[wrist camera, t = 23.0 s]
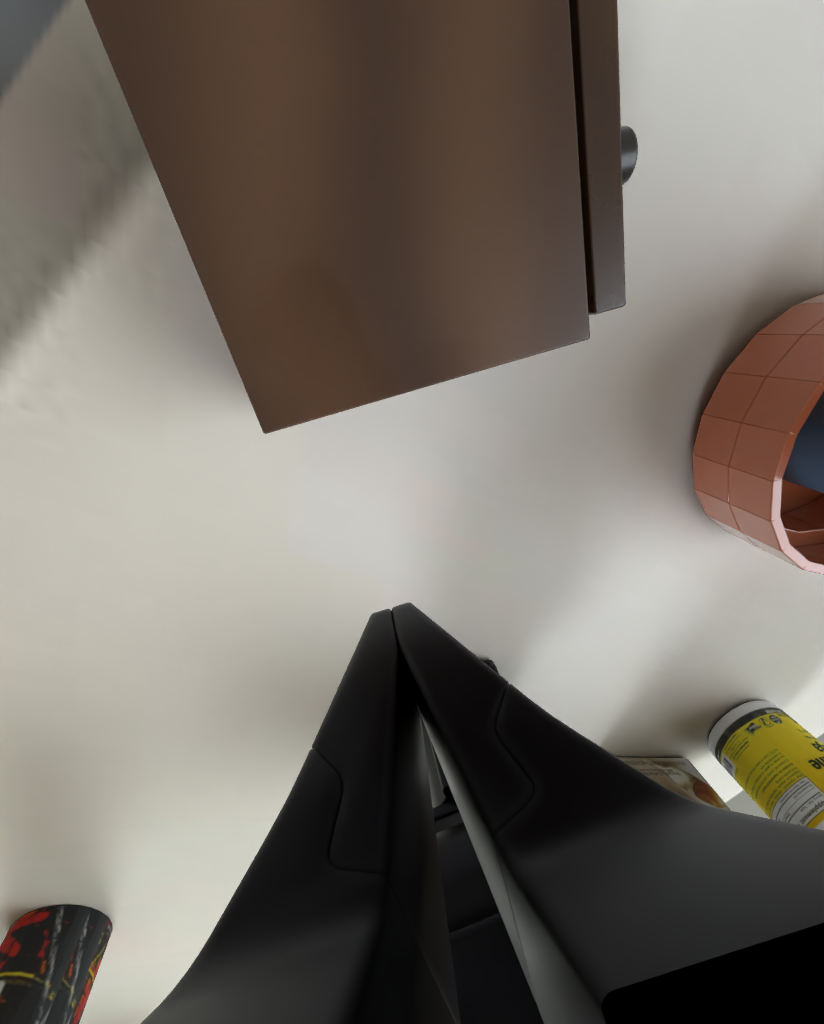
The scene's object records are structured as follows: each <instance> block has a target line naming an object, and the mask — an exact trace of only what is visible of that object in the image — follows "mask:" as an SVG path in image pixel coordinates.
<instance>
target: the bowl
mask: <svg viewBox="0 0 824 1024" xmlns="http://www.w3.org/2000/svg"><path fill="white" fill-rule="evenodd" d="M823 392H824V294H821V295H819V296H816V297H814V298H811V299H809V300H806V301H803V302H801V303H798V304H796V305H794V306H792V307H791V308H789V309H788V310H787V311H786V312H784V313H783V314H782V315H780V316H779V317H778V318H776V319H775V320H774V321H772V322H771V323H770V324H768V325H767V326H766V327H764V328H763V329H762V330H760V331H759V332H758V333H757V334H756V335H755V336H754V337H753V338H752V340H751V341H750V342H749V343H748V344H747V346H746V347H745V348H744V349H743V350H742V352H741V353H740V354H739V355H738V356H737V358H736V359H735V360H734V361H733V362H732V364H731V365H730V366H729V367H728V368H727V370H726V371H725V373H724V374H723V376H722V378H721V379H720V381H719V383H718V385H717V387H716V389H715V391H714V393H713V395H712V397H711V399H710V401H709V403H708V404H707V406H706V408H705V410H704V412H703V414H702V417H701V421H700V425H699V429H698V433H697V438H696V442H695V446H694V450H693V473H694V489H695V492H696V494H697V496H698V498H699V500H700V503H701V505H702V507H703V509H704V511H705V514H706V515H707V516H708V517H709V518H710V519H712V520H713V521H714V522H715V523H717V524H718V525H719V526H720V527H721V528H723V529H724V530H725V531H727V532H729V533H731V534H733V535H735V536H737V537H739V538H741V539H743V540H744V541H746V542H748V543H750V544H752V545H754V546H756V547H758V548H761V549H762V550H764V551H766V552H768V553H770V554H772V555H774V556H776V557H778V558H780V559H782V560H784V561H786V562H788V563H790V564H792V565H794V566H796V567H798V568H800V569H802V570H806V571H811V572H815V573H819V574H824V493H821V492H818V491H815V490H812V489H809V488H806V487H803V486H800V485H797V484H794V483H791V482H788V481H785V480H782V478H783V476H784V473H785V470H786V467H787V464H788V461H789V458H790V455H791V452H792V449H793V446H794V444H795V441H796V438H797V435H798V433H799V431H800V430H801V428H802V426H803V425H804V423H805V421H806V420H807V418H808V416H809V415H810V413H811V411H812V410H813V408H814V407H815V405H816V403H817V402H818V400H819V398H820V397H821V395H822V393H823Z"/></svg>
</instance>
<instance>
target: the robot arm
mask: <svg viewBox="0 0 824 1024" xmlns="http://www.w3.org/2000/svg"><path fill="white" fill-rule="evenodd" d="M312 748H313V749H311V750H310V751H309V754H308V756H307V758H306V760H305V763H304V765H303V767H302V769H301V771H300V773H299V775H298V777H297V780H296V782H295V784H294V786H293V788H292V790H291V792H290V794H289V796H288V798H287V800H286V802H285V804H284V806H283V808H282V810H281V811H280V813H279V815H278V817H277V819H276V821H275V822H274V824H273V826H272V828H271V830H270V832H269V833H268V835H267V837H266V839H265V841H264V842H263V844H262V846H261V848H260V849H259V851H258V853H257V855H256V856H255V858H254V860H253V862H252V863H251V865H250V867H249V869H248V871H247V872H246V874H245V876H244V878H243V879H242V881H241V883H240V885H239V886H238V888H237V890H236V892H235V893H234V895H233V897H232V899H231V900H230V902H229V904H228V906H227V907H226V909H225V911H224V913H223V914H222V916H221V918H220V920H219V921H218V923H217V925H216V927H215V928H214V930H213V932H212V934H211V935H210V937H209V939H208V940H207V942H206V944H205V945H204V947H203V949H202V950H201V952H200V953H199V955H198V956H197V958H196V959H195V961H194V962H193V964H192V965H191V967H190V968H189V970H188V971H187V972H186V974H185V975H184V976H183V978H182V979H181V980H180V982H179V983H178V984H177V985H176V987H175V988H174V989H173V991H172V992H171V993H170V994H169V995H168V996H167V997H166V998H165V1000H164V1001H163V1002H162V1003H161V1004H160V1005H159V1006H158V1007H157V1008H156V1009H155V1010H154V1011H153V1012H152V1013H151V1014H150V1015H149V1016H148V1017H147V1018H146V1019H145V1020H144V1021H143V1022H142V1023H141V1024H824V830H820V829H815V828H810V827H806V826H801V825H796V824H791V823H786V822H782V821H777V820H772V819H767V818H762V817H758V816H753V815H748V814H743V813H738V812H733V811H729V810H724V809H719V808H715V807H711V806H708V805H705V804H702V803H699V802H696V801H694V800H691V799H689V798H686V797H684V796H682V795H680V794H678V793H676V792H674V791H672V790H670V789H668V788H666V787H664V786H662V785H661V784H659V783H657V782H656V781H654V780H652V779H651V778H649V777H648V776H646V775H644V774H643V773H641V772H640V771H638V770H636V769H635V768H633V767H632V766H630V765H628V764H627V763H625V762H624V761H622V760H620V759H619V758H617V757H616V756H614V755H612V754H611V753H609V752H608V751H606V750H605V749H603V748H601V747H600V746H598V745H597V744H595V743H593V742H592V741H590V740H589V739H587V738H585V737H584V736H582V735H581V734H579V733H577V732H576V731H574V730H573V729H571V728H570V727H568V726H567V725H565V724H564V723H562V722H561V721H559V720H558V719H556V718H555V717H553V716H552V715H550V714H549V713H547V712H546V711H545V710H543V709H542V708H541V707H539V706H538V705H537V704H536V703H534V702H533V701H532V700H530V699H529V698H528V697H526V696H525V695H524V694H523V693H521V692H520V691H519V690H518V689H516V688H515V687H514V686H513V685H511V684H509V683H508V681H506V680H505V679H504V678H503V677H501V676H500V675H499V673H498V671H497V668H496V666H495V664H494V662H493V661H491V660H485V661H482V660H480V659H479V658H478V657H477V656H476V655H474V654H473V653H472V652H471V651H469V650H468V649H467V648H466V647H464V646H463V645H462V644H461V643H460V642H458V641H457V640H456V639H455V638H453V637H452V636H451V635H450V634H448V633H447V632H446V631H445V630H444V629H442V628H441V627H440V626H439V625H437V624H436V623H435V622H434V621H432V620H431V619H430V618H429V617H427V616H426V615H425V614H424V613H423V612H421V611H420V610H419V609H418V608H416V607H415V606H414V605H413V604H411V603H405V604H402V605H399V606H396V607H393V608H392V611H391V610H390V609H386V610H383V611H379V612H376V613H373V614H372V615H371V616H370V618H369V621H368V623H367V625H366V627H365V630H364V632H363V634H362V636H361V638H360V641H359V643H358V645H357V647H356V650H355V652H354V654H353V656H352V658H351V661H350V663H349V665H348V667H347V670H346V672H345V674H344V676H343V679H342V681H341V683H340V685H339V687H338V690H337V692H336V694H335V696H334V699H333V701H332V703H331V705H330V707H329V710H328V712H327V714H326V716H325V719H324V721H323V723H322V725H321V727H320V730H319V732H318V734H317V736H316V739H315V741H314V743H313V745H312Z"/></svg>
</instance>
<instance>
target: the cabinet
mask: <svg viewBox="0 0 824 1024" xmlns="http://www.w3.org/2000/svg"><path fill="white" fill-rule="evenodd" d="M85 2H86V4H87V6H88V9H89V11H90V14H91V16H92V18H93V21H94V23H95V26H96V28H97V31H98V33H99V35H100V38H101V40H102V43H103V45H104V48H105V50H106V52H107V55H108V57H109V60H110V62H111V64H112V67H113V69H114V72H115V74H116V77H117V79H118V81H119V84H120V86H121V89H122V91H123V94H124V96H125V98H126V101H127V103H128V106H129V108H130V111H131V113H132V115H133V118H134V120H135V123H136V125H137V127H138V130H139V132H140V135H141V137H142V140H143V142H144V144H145V147H146V149H147V152H148V154H149V157H150V159H151V161H152V164H153V166H154V169H155V171H156V174H157V176H158V178H159V181H160V183H161V186H162V188H163V190H164V193H165V195H166V198H167V200H168V203H169V205H170V207H171V210H172V212H173V215H174V217H175V220H176V222H177V224H178V227H179V229H180V232H181V234H182V237H183V239H184V241H185V244H186V246H187V249H188V251H189V253H190V256H191V258H192V261H193V263H194V266H195V268H196V270H197V273H198V275H199V278H200V280H201V283H202V285H203V287H204V290H205V292H206V295H207V297H208V299H209V302H210V304H211V307H212V309H213V312H214V314H215V316H216V319H217V321H218V324H219V326H220V329H221V331H222V333H223V336H224V338H225V341H226V343H227V346H228V348H229V350H230V353H231V355H232V358H233V360H234V362H235V365H236V367H237V370H238V372H239V375H240V377H241V379H242V382H243V384H244V387H245V389H246V392H247V394H248V396H249V399H250V401H251V404H252V406H253V409H254V411H255V413H256V416H257V418H258V421H259V423H260V425H261V428H262V430H263V432H264V433H265V434H267V433H270V432H274V431H277V430H280V429H284V428H287V427H291V426H294V425H297V424H301V423H304V422H308V421H311V420H315V419H318V418H321V417H325V416H328V415H332V414H335V413H338V412H342V411H345V410H349V409H352V408H355V407H359V406H362V405H366V404H369V403H372V402H376V401H379V400H383V399H386V398H390V397H393V396H396V395H400V394H403V393H407V392H410V391H413V390H417V389H420V388H424V387H427V386H430V385H434V384H437V383H441V382H444V381H448V380H451V379H454V378H458V377H461V376H465V375H468V374H471V373H475V372H478V371H482V370H485V369H488V368H492V367H495V366H499V365H502V364H505V363H509V362H512V361H516V360H519V359H523V358H526V357H529V356H533V355H536V354H540V353H543V352H546V351H550V350H553V349H557V348H560V347H563V346H567V345H570V344H574V343H577V342H580V341H584V340H587V339H589V338H590V332H589V316H588V300H587V285H586V269H585V253H584V237H583V221H582V205H581V189H580V173H579V157H578V141H577V125H576V109H575V93H574V77H573V61H572V46H571V30H570V14H569V0H85Z"/></svg>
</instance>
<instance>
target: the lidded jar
mask: <svg viewBox="0 0 824 1024" xmlns="http://www.w3.org/2000/svg"><path fill="white" fill-rule="evenodd" d="M782 480H785V481H788V482H791V483H794V484H797V485H800V486H803V487H806V488H809V489H812V490H815V491H818V492H821V493H824V392H823V393H822V395H821V397H820V398H819V400H818V402H817V403H816V405H815V407H814V408H813V410H812V411H811V413H810V415H809V416H808V418H807V420H806V421H805V423H804V425H803V426H802V428H801V430H800V431H799V433H798V435H797V438H796V441H795V444H794V446H793V449H792V452H791V455H790V458H789V461H788V464H787V467H786V470H785V473H784V476H783V478H782Z"/></svg>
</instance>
